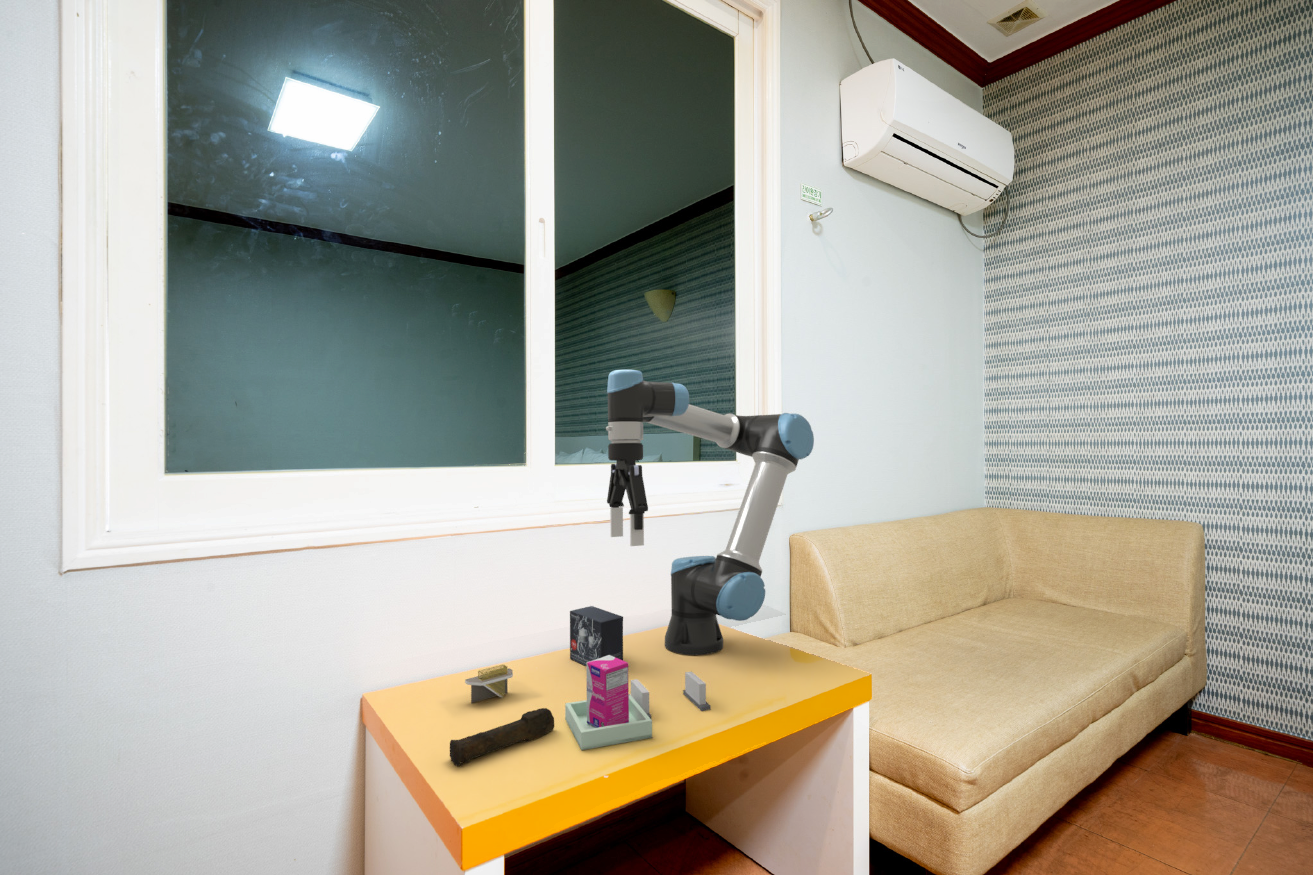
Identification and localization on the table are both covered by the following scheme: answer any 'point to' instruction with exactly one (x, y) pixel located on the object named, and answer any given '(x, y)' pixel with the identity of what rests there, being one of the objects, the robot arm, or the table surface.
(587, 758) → the table surface
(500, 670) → the platform
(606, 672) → the supplement box
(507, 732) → the hand tool
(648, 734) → the parts tray
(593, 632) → the small box
